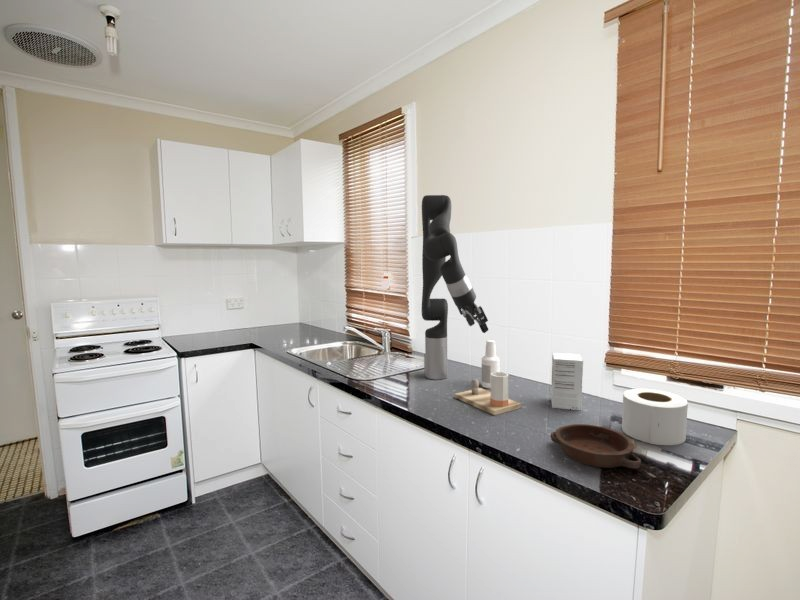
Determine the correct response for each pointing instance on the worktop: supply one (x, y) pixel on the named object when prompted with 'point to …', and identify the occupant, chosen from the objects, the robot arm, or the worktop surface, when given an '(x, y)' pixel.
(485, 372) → the spray bottle
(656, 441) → the white paper roll
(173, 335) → the worktop surface
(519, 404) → the pin board
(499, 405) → the sleeve
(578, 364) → the supplement box
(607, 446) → the dish
